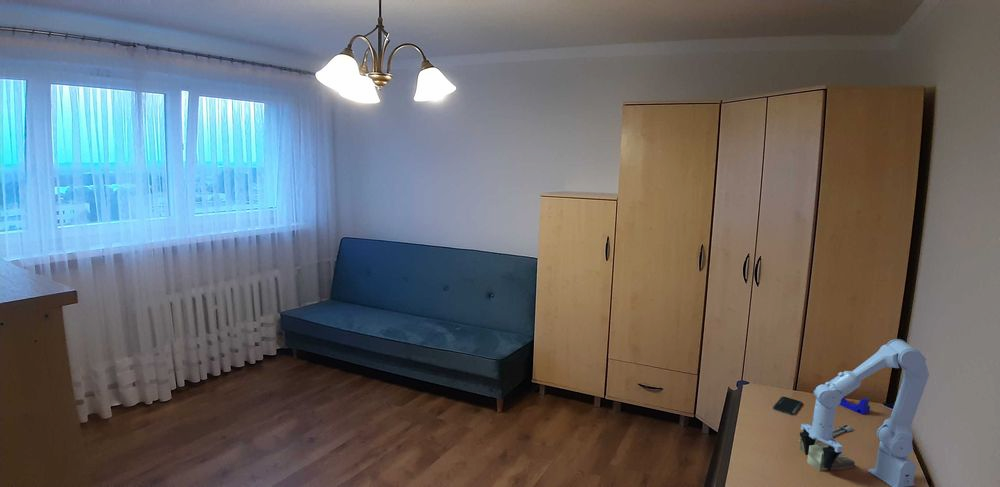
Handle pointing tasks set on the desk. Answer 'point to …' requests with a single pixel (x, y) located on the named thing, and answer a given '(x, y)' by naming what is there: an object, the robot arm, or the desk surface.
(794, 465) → the desk surface
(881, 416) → the desk surface
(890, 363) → the robot arm
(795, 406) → the phone
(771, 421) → the desk surface
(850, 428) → the flamethrower
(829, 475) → the desk surface
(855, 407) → the blue u-shaped bracket
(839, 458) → the brown flat block
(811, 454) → the joiner mallet
